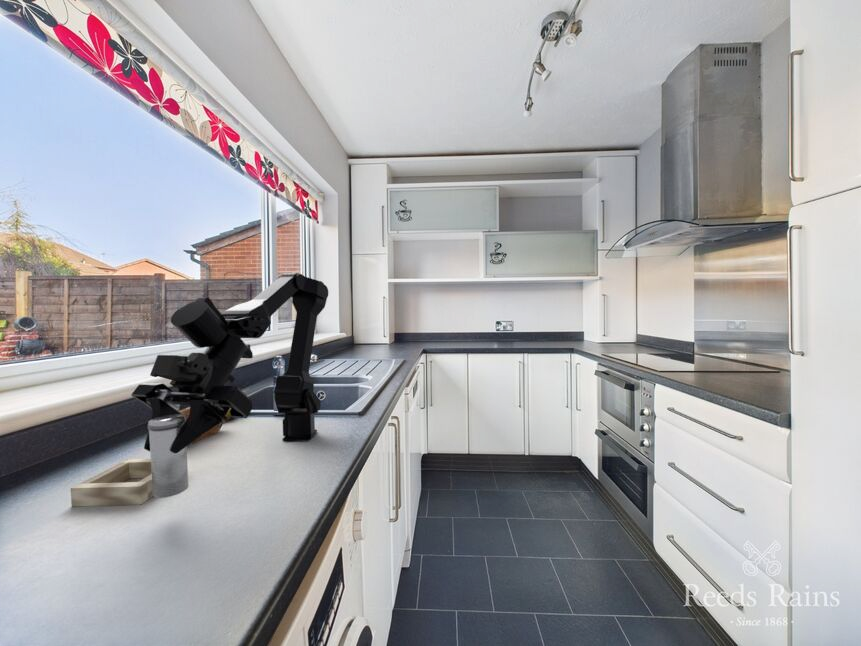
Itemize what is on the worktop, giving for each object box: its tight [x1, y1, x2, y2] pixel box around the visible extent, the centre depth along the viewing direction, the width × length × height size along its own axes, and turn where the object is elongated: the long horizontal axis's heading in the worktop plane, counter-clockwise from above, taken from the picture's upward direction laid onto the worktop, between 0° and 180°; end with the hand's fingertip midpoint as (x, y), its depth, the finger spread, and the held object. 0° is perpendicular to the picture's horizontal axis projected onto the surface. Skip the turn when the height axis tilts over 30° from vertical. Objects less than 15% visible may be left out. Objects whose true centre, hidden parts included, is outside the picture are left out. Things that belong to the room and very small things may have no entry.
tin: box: [178, 406, 224, 447], centre depth 87 cm, size 15×3×8 cm, turn 168°
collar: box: [70, 458, 153, 507], centre depth 63 cm, size 11×11×3 cm
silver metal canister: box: [147, 414, 189, 499], centre depth 54 cm, size 5×5×11 cm
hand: (159, 451), depth 52 cm, fingers closed on silver metal canister, 4 cm apart
